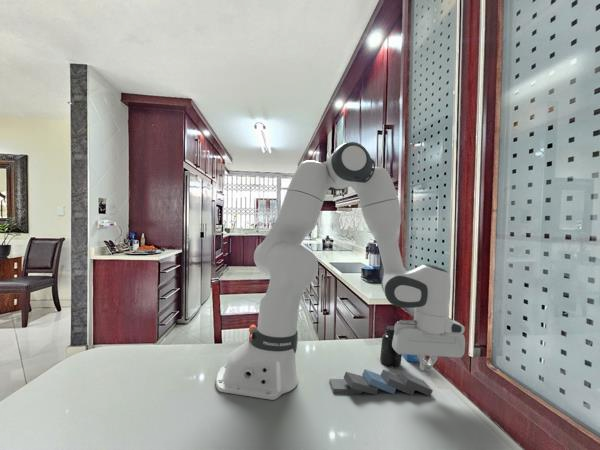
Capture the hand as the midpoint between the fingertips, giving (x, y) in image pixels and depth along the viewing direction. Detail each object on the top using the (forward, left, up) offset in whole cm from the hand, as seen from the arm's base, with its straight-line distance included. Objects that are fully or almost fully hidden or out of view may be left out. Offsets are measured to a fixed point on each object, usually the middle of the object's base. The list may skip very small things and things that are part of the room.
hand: (425, 369), depth 84 cm
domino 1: (-19, 0, -6) cm, 20 cm away
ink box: (+6, +22, -6) cm, 23 cm away
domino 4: (-4, 0, -5) cm, 7 cm away
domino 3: (-10, 0, -5) cm, 11 cm away
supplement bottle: (-3, +16, -6) cm, 18 cm away
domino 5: (+1, 0, -5) cm, 5 cm away
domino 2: (-15, -1, -5) cm, 16 cm away
